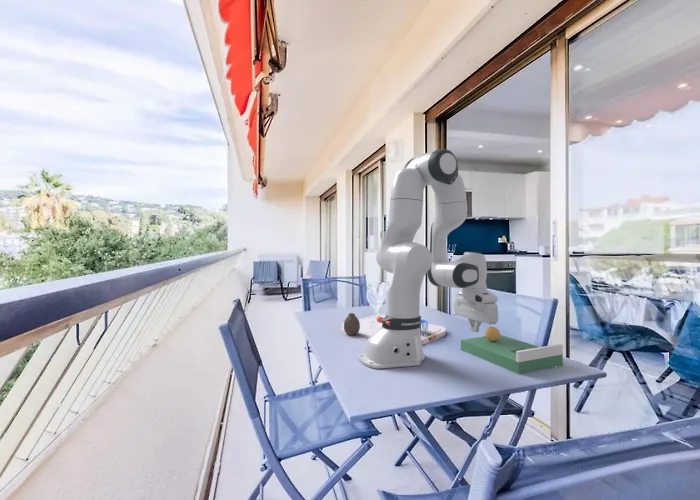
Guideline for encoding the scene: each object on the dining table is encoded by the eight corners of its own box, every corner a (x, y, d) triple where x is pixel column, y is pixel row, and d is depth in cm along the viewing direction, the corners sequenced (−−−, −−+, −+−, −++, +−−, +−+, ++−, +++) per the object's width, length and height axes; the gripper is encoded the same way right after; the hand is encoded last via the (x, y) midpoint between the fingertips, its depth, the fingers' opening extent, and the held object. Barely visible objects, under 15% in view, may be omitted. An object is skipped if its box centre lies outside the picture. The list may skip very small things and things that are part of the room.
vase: (340, 334, 152) (340, 313, 152) (352, 331, 157) (352, 311, 157) (351, 337, 147) (351, 316, 147) (363, 334, 152) (363, 313, 151)
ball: (492, 343, 123) (492, 329, 123) (481, 340, 127) (481, 326, 127) (503, 342, 125) (503, 327, 125) (492, 338, 129) (492, 324, 129)
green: (518, 374, 104) (518, 352, 104) (460, 349, 128) (460, 331, 128) (562, 365, 111) (562, 344, 111) (499, 343, 135) (499, 326, 135)
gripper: (450, 291, 143) (450, 326, 143) (487, 299, 124) (487, 338, 124) (463, 290, 145) (463, 324, 145) (501, 298, 126) (501, 336, 126)
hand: (474, 331), depth 135 cm, fingers closed
